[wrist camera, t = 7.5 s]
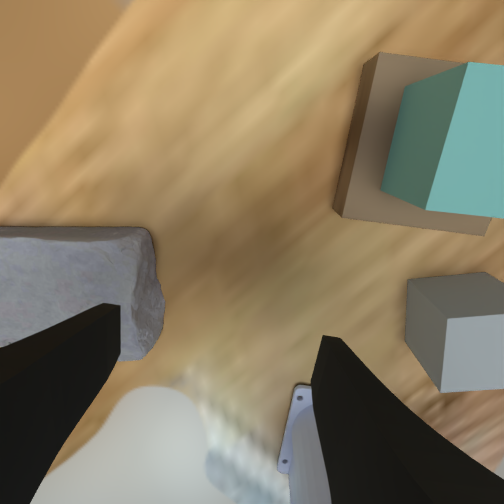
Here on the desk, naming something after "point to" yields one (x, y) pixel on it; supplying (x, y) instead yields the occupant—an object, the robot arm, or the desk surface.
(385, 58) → the walnut base block
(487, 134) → the teal cube
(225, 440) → the desk surface
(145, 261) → the stone block
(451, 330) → the grey cube
